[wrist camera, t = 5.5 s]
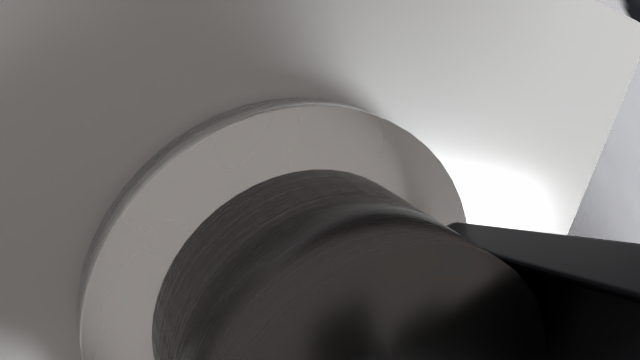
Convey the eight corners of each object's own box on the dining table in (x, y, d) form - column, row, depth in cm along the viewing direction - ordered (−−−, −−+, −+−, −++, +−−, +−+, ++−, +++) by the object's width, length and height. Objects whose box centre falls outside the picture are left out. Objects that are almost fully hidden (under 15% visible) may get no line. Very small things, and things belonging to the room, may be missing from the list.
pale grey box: (322, 389, 17) (436, 548, 13) (-372, 379, 10) (-681, 719, 6) (457, 7, 15) (652, 29, 11) (-296, -318, 8) (-680, -660, 4)
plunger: (304, 358, 16) (526, 663, 9) (-70, 342, 12) (-184, 879, 5) (411, 45, 14) (777, 127, 8) (24, -98, 10) (49, -209, 3)
